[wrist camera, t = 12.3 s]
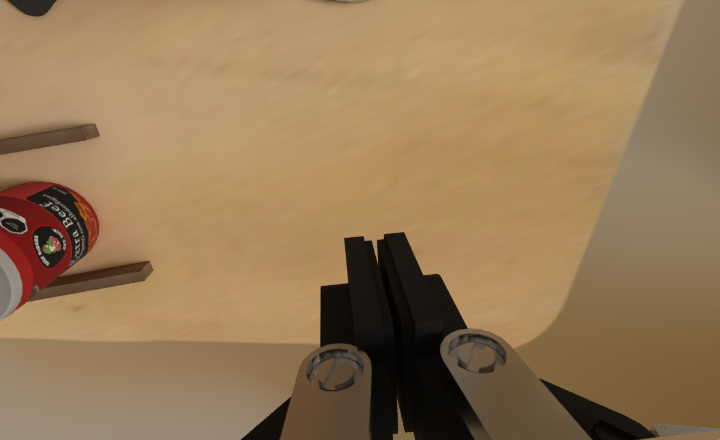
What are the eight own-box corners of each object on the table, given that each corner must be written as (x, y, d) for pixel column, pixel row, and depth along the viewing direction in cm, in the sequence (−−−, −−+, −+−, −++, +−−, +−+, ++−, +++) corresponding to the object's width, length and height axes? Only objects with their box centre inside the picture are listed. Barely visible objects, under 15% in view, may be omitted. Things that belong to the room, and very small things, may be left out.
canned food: (114, 253, 37) (34, 323, 27) (26, 264, 37) (-88, 339, 27) (85, 173, 35) (-16, 218, 24) (-10, 184, 34) (-153, 235, 24)
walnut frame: (-70, 151, 33) (-94, 156, 31) (95, 123, 33) (81, 127, 31) (11, 295, 38) (-5, 307, 36) (153, 270, 38) (144, 280, 37)
